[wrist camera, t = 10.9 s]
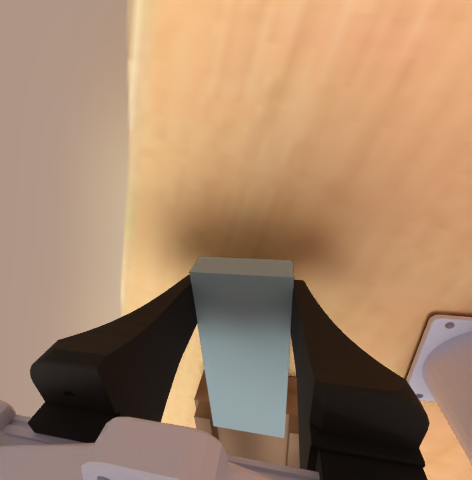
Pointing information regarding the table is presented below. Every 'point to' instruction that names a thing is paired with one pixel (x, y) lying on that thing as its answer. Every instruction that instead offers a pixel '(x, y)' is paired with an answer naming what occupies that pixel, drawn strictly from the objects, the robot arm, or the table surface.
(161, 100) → the table surface
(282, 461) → the brown open channel bracket
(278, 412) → the cover plate
